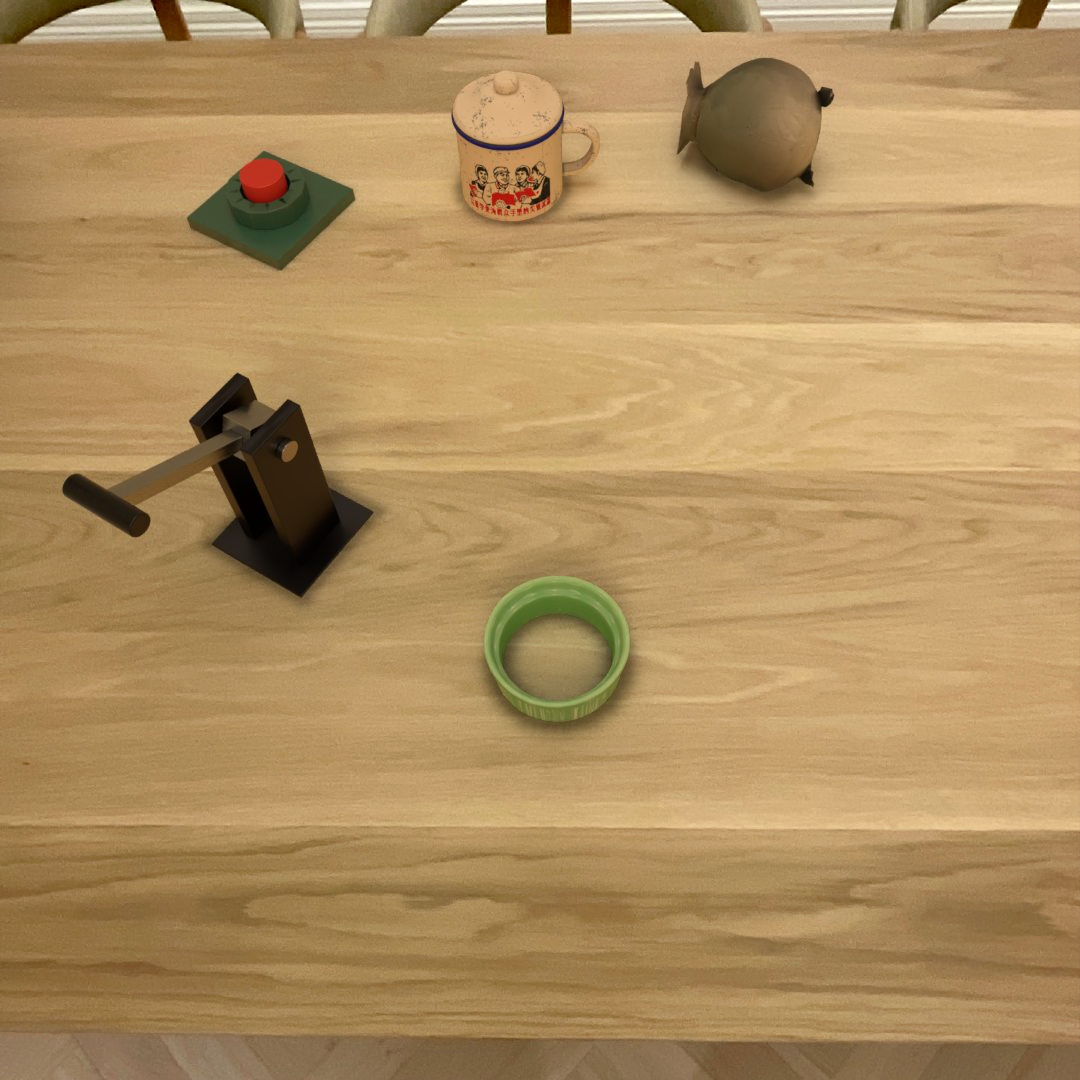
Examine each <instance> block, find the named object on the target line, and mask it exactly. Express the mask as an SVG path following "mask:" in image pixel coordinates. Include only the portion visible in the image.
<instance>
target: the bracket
mask: <svg viewBox="0 0 1080 1080" xmlns="http://www.w3.org/2000/svg"><path fill="white" fill-rule="evenodd" d="M254 400H257V401H259V400H258V397H257V394H256V392H255V390H254V387H253V385H252V382H251V380H250V378H249V377H247V376H245V375H244V374H241V373H240V372H236V373H235V374H234V375H233V376H231V378H230V379H229V380H228V381H227V382H225V383H224V384H223V386H222V387H221V388H219V389H218V390H217V392H215V394H213V395H212V396H211V398H209V400H207V401H206V403H204V404H203V405H202V406H201V407H200V408H199V409H198V411H197V412H195V414H193V416H191V417H190V418H189V420H188V423H189V425H190V427H191V429H192V431H193V433H194V435H195V437H196V439H197V441H198V444H200V443H202V442H204V441H206V440H208V439H210V438H212V437H214V436H216V435H218V434H221V433H222V426H223V415H224V414H226V413H229V412H231V411H233V410H235V409H237V408H239V407H241V406H243V405H245V404H247V403H250V402H252V401H254ZM275 410H276V411H275V413H274V414H273V415H272V416H271V417H270V418H269V419H268V420H267V421H266V422H265V423H264V424H263V425H262V426H261V427H260V428H259V429H258V430H257V431H256V432H255V433H254V434H253V435H252V436H251V438H250V439H249V440H248V441H247V442H246V443H245V444H244V445H243V446H242V447H241V448H240V450H241V453H242V455H243V457H244V459H245V461H243V460H242V459H240V458H238V457H236V456H234V455H232V456H230V457H228V458H226V459H224V460H222V461H220V462H218V463H216V464H214V465H212V466H211V467H210V468H211V469H212V471H213V473H214V475H215V477H216V479H217V482H218V483H219V485H220V488H221V489H222V491H223V494H224V495H225V497H226V499H227V502H228V504H229V505H230V507H231V510H232V511H233V514H234V515H235V517H234V519H233V520H232V521H231V522H230V523H229V524H228V525H227V526H226V527H225V528H224V529H223V531H221V533H219V535H218V536H217V537H216V538H215V539H214V540H213V541H212V542H211V546H213V547H214V548H215V549H218V550H219V551H221V552H223V553H225V554H226V555H228V556H230V557H231V558H233V559H235V560H237V561H238V562H239V563H241V564H244V565H245V566H247V567H248V568H249V569H251V570H253V571H255V572H256V573H258V574H260V575H262V576H263V577H265V578H267V579H268V580H270V581H271V582H274V583H275V584H277V585H279V586H280V587H282V588H283V589H285V590H287V591H289V592H290V593H292V594H294V595H295V596H297V597H299V598H303V596H304V595H305V594H306V593H307V592H308V591H309V590H310V589H311V587H312V586H313V585H314V584H315V583H316V581H317V580H318V579H319V577H321V576H322V574H323V573H324V572H325V571H326V570H327V568H328V567H329V566H330V565H331V564H332V562H333V561H334V560H335V559H336V558H337V557H338V556H339V554H340V553H341V552H342V551H343V550H344V548H345V547H346V546H347V545H348V544H349V543H350V541H352V539H353V538H354V536H355V535H356V534H357V533H358V532H359V531H360V530H361V528H362V527H363V526H364V525H365V524H366V522H368V521H369V519H370V518H371V517H372V516H373V514H374V511H373V510H371V509H370V508H368V507H366V506H363V504H360V503H358V502H357V501H356V500H355V501H354V500H353V499H351V498H349V497H347V496H345V495H344V494H342V493H340V492H339V491H336V490H335V489H333V488H331V487H329V484H328V481H327V479H326V476H325V475H326V474H325V473H324V469H323V466H322V464H321V461H320V458H319V455H318V452H317V450H316V446H315V444H314V440H313V438H312V436H311V432H310V430H309V426H308V424H307V421H306V418H305V415H304V412H303V410H302V406H301V405H300V404H299V403H297V402H295V401H293V400H291V399H290V398H287V399H286V400H285V401H284V402H283V403H282V404H281V405H280V406H279V407H278V408H277V409H275Z"/></svg>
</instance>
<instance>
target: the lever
mask: <svg viewBox="0 0 1080 1080" xmlns="http://www.w3.org/2000/svg"><path fill="white" fill-rule="evenodd" d="M257 400H258V399H257ZM257 400H254V401H252V402H250V403H247V404H245V405H243V406H241V407H239V408H237V409H235V410H233V411H231V412H229V413H226V414H224V415H223V426H222V433H221V434H218V435H216V436H214V437H212V438H210V439H208V440H206V441H204V442H202V443H198V444H196V445H194V446H192V447H190V448H188V449H186V450H184V451H182V452H180V453H178V454H176V455H174V456H172V457H169V458H167V459H165V460H164V461H162V462H160V463H158V464H155V465H154V466H152V467H149V468H147V469H146V470H144V471H141V472H139V473H138V474H135V475H133V476H131V477H129V478H127V479H124V480H123V481H121V482H119V483H117V484H115V485H113V486H110V487H109V488H105V487H104V486H102V485H100V484H99V483H97V482H95V481H94V480H92V479H90V478H88V477H87V476H85V475H84V474H83V473H79V472H77V473H73V474H70V475H69V476H68V477H67V478H66V479H65V481H63V484H62V487H61V491H62V494H63V496H64V497H65V498H67V499H69V500H71V501H72V502H74V503H75V504H76V505H78V506H80V507H81V508H84V509H85V510H87V511H89V512H90V513H92V514H93V515H95V516H97V517H98V518H100V519H102V520H103V521H104V522H107V523H108V524H110V525H112V527H115V528H117V529H118V530H120V531H121V532H123V533H125V534H127V535H128V536H130V537H131V538H140V537H142V536H143V535H145V533H146V532H147V531H148V529H149V528H150V525H151V522H152V521H151V520H152V519H151V516H150V514H149V513H147V512H146V511H144V510H142V509H141V508H139V507H138V505H140V504H141V503H143V502H145V501H147V500H149V499H151V498H153V497H156V496H157V495H158V494H160V493H162V492H164V491H166V490H168V489H170V488H172V487H175V486H176V485H177V484H180V483H181V482H183V481H186V480H187V479H189V478H191V477H193V476H195V475H197V474H200V473H201V472H203V471H205V470H207V469H208V468H212V467H211V466H212V465H214V464H216V463H218V462H220V461H222V460H224V459H226V458H228V457H230V456H232V455H234V456H236V457H238V458H240V459H242V460H243V461H245V459H244V457H243V455H242V453H241V450H240V448H241V447H242V446H243V445H244V444H245V443H246V442H247V441H248V440H249V439H250V438H251V436H252V435H253V434H254V433H255V432H256V431H257V430H258V429H259V428H260V427H261V426H262V425H263V424H264V423H265V422H266V421H267V420H268V419H269V418H270V417H271V416H272V415H273V414H274V413H275V411H276V410H277V409H274V408H272V407H270V406H269V405H267V404H264V403H262V402H261V401H259V400H258V401H257Z"/></svg>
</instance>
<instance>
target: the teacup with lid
mask: <svg viewBox="0 0 1080 1080" xmlns="http://www.w3.org/2000/svg"><path fill="white" fill-rule="evenodd" d="M450 115H451V117H450V118H451V122H452V125H453V128H454V129H455V134H456V135H455V136H456V142H457V143H456V144H457V151H458V152H457V153H458V160H459V161H458V162H459V169H460V178H461V188H462V194H463V198H464V200H465V202H466V204H467V205H468V206H469V207H470V208H471V209H472V210H473V211H474V212H476V213H478V214H479V215H480V216H483V217H486V218H488V219H491V220H496V221H502V222H518V221H520V222H521V221H525V220H529V219H532V218H533V219H534V218H536V217H538V216H540V215H542V214H545V213H546V212H547V211H549V210H550V209H551V208H552V207H554V205H556V203H557V202H558V201H559V199H560V197H561V195H562V193H563V184H564V183H563V177H566V176H567V177H568V176H575V175H579V174H581V173H583V172H585V171H587V170H588V169H589V168H590V167H591V166H592V165H593V164H594V163H595V161H596V160H597V158H598V156H599V153H600V149H601V148H600V147H601V138H600V134H599V132H598V131H599V130H598V129H597V128H596V127H595V126H594V125H593V124H591V123H590V122H588V121H586V120H582V119H576V118H575V119H574V118H573V119H564V118H565V105H564V102H563V100H562V97H561V95H560V94H559V92H558V90H557V89H556V88H555V87H554V86H553V84H551V83H549V82H548V81H546V80H545V79H544V78H541V77H540V76H537V75H534V74H530V73H527V72H520V71H512V70H507V69H505V70H504V69H503V70H501V71H498V72H495V73H489V74H486V75H483V76H481V77H478V78H476V79H474V80H472V81H471V82H469V83H468V84H466V86H464V87H462V89H461V90H460V92H459V93H458V94H457V96H455V99H454V102H453V104H452V108H451V114H450ZM564 134H580V135H583V136H585V137H587V138H588V139H589V140H590V142H591V143H590V146H589V149H588V150H587V152H586V154H584V155H583V156H582V157H581V158H578V159H576V160H574V161H568V162H567V161H566V162H563V135H564Z"/></svg>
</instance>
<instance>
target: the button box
mask: <svg viewBox="0 0 1080 1080" xmlns="http://www.w3.org/2000/svg"><path fill="white" fill-rule="evenodd" d="M257 159H272V160H275V161H277V162H278V163H280V164H281V166H282V168H283V171H284V174H285V178H286V181H287V185H288V189H287V192H286V193H285V194H284V195H283V196H282V197H281V198H280V199H277V200H274V201H271V202H269V203H253V202H251V201H249V200H248V199H247V198H246V196H245V194H244V191H243V188H242V185H241V182H240V178H239V174H240V171H241V169H242V168H243V167H241V168H240V169H239V170H237V172H235V173H234V174H233V175H232V176H230V178H228V180H227V182H226V183H225V184H223V185H222V186H221V187H220V188H219V189H218V190H217V191H215V192H214V193H213V194H212V195H211V196H210V197H209V198H207V199H206V200H205V201H204V202H203V203H201V205H200V206H198V207H197V208H196V209H194V211H192V212H191V213H190V214H189V215H187V217H186V220H187V222H188V225H189V227H190V229H192V230H193V231H196V232H198V233H200V234H202V235H204V236H206V237H208V238H210V239H213V240H215V241H217V242H219V243H221V244H222V245H225V246H227V247H229V248H232V249H234V250H236V251H238V252H240V253H242V254H244V255H246V256H249V257H251V258H253V259H255V260H257V261H259V262H261V263H263V264H266V265H267V266H270V267H272V268H273V269H276V270H278V271H280V272H281V271H283V270H284V269H285V268H286V267H287V266H288V265H289V264H290V263H291V262H292V261H293V260H295V258H296V257H297V256H298V255H299V254H300V253H301V252H302V251H304V249H306V248H307V247H308V246H309V245H310V244H311V243H312V242H313V241H314V240H315V239H317V237H318V236H319V235H320V234H321V233H322V232H323V231H324V230H326V228H328V227H329V225H331V224H332V223H333V222H334V221H335V220H336V219H337V218H338V217H340V215H342V213H343V212H345V211H346V209H347V208H348V207H350V206H351V204H353V203H354V202H355V200H356V197H355V191H354V188H352V187H349V186H347V185H345V184H342V183H341V182H337V181H335V180H333V179H331V178H328V177H326V176H324V175H322V174H319V173H318V172H317V173H316V172H314V171H312V170H310V169H308V168H306V167H303V166H301V165H298V164H296V163H293V162H292V161H289V160H286V159H284V158H282V157H280V156H277V155H275V154H274V153H273V154H272V153H271V152H268V151H266V150H263V151H261V152H260V153H259V154H258V155H257V156H255V157H254V158H253V159H252V160H251V161H254V160H257Z"/></svg>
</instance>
